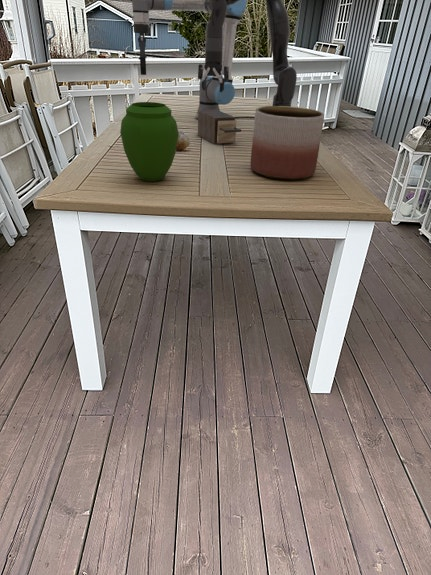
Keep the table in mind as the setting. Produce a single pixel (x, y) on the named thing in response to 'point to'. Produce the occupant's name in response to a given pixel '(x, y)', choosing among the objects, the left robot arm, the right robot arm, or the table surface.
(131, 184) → the table surface
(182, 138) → the seashell
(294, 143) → the planter
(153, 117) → the vase
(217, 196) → the table surface
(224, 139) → the drawer
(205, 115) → the small wooden cabinet
